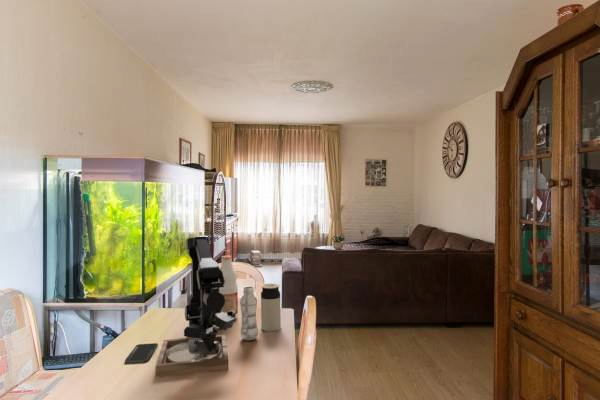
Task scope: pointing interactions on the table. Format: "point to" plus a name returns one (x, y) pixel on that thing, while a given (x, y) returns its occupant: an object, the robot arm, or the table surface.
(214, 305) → the robot arm
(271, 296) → the travel mug
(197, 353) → the dial
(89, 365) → the table surface
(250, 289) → the plastic bottle
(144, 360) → the phone
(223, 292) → the fruit juice
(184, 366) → the square wooden tray
